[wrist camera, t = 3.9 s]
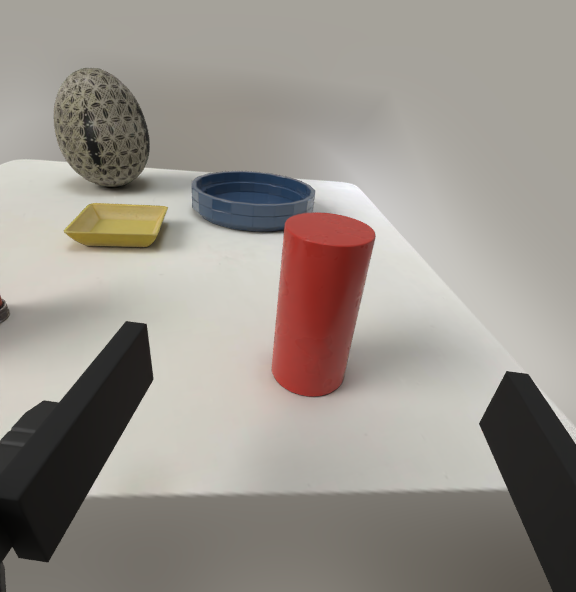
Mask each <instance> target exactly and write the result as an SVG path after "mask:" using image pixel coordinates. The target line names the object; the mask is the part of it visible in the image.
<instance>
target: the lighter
mask: <svg viewBox="0 0 576 592" xmlns="http://www.w3.org/2000/svg"><path fill="white" fill-rule="evenodd" d="M8 316H9V310H8V307H7V304H6V301H5V300H3V299H1V296H0V322H2V321H4V320H5V319H7V318H8Z"/></svg>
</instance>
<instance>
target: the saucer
mask: <svg viewBox="0 0 576 592" xmlns="http://www.w3.org/2000/svg"><path fill="white" fill-rule="evenodd" d="M167 209H168V207H165V206H151V205H127V204H104V203H93V204H89V205H87V206H86V208H84V210H82V212H81V213H80V214H79V215H78V216H77V217H76V218H75V219H74V220H73V221H72V222H71V223H70V224H69V225H68V226H67V227H66V228H65V230H64V232H65V233H66V234H67V235H68V236H69V237H71V238H72V239H74V240H76V241H77V242H79V243H81V244H84V245H87V246H117V247H148V246H150V245H151V244H152V243H153V242H154V240H155V239H156V237H157V235H158V233H159V230H160V227H161V224H162V222H163V219H164V217H165V214H166V211H167Z"/></svg>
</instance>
